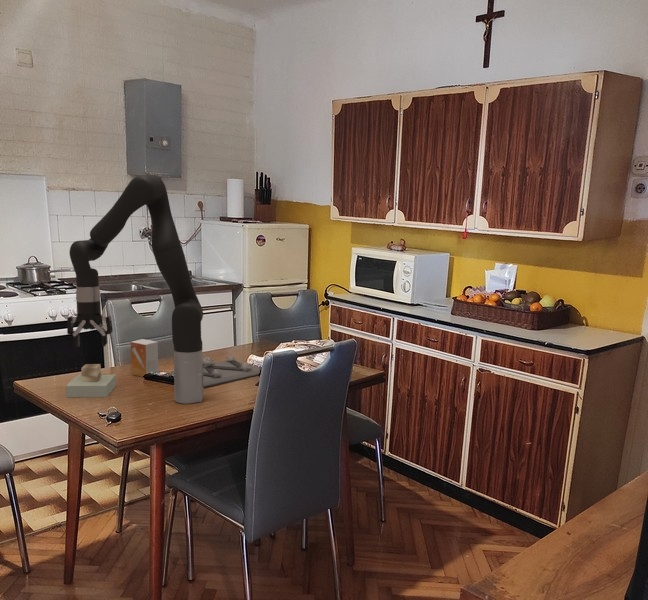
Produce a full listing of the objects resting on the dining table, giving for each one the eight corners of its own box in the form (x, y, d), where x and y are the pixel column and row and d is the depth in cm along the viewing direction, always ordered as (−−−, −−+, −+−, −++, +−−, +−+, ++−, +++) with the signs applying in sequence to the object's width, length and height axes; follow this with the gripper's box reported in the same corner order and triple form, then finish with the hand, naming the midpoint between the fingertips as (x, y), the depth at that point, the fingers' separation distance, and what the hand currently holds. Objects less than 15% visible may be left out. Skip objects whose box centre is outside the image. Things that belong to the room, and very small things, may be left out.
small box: (131, 374, 221) (130, 341, 219) (143, 371, 226) (142, 338, 224) (146, 378, 217) (145, 344, 215) (158, 374, 223) (158, 341, 220)
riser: (116, 385, 208) (115, 374, 207) (106, 397, 195) (106, 385, 194) (78, 385, 206) (77, 374, 206) (66, 397, 193) (65, 385, 193)
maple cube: (101, 377, 203) (100, 364, 202) (97, 382, 198) (96, 368, 197) (86, 378, 202) (85, 364, 201) (81, 382, 197) (81, 368, 196)
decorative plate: (200, 391, 206) (200, 371, 204) (168, 377, 220) (167, 359, 219) (265, 375, 227) (265, 357, 226) (232, 364, 242) (232, 347, 240)
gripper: (113, 297, 200) (115, 343, 203) (70, 297, 199) (72, 344, 201) (107, 301, 193) (109, 348, 195) (62, 301, 191) (65, 349, 194)
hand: (90, 346), depth 198 cm, fingers open, 8 cm apart
